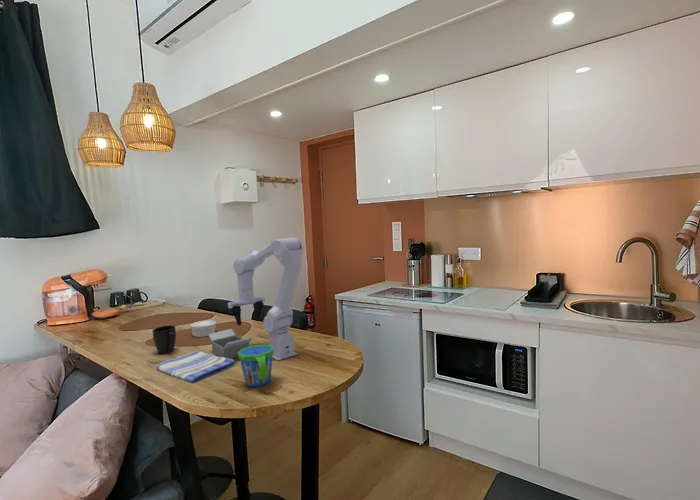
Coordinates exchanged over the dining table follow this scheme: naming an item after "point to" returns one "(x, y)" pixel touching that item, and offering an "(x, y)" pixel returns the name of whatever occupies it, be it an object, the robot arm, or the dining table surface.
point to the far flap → (221, 335)
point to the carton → (228, 352)
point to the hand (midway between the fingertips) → (248, 322)
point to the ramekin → (203, 328)
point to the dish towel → (195, 366)
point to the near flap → (238, 342)
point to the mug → (164, 339)
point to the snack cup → (256, 364)
